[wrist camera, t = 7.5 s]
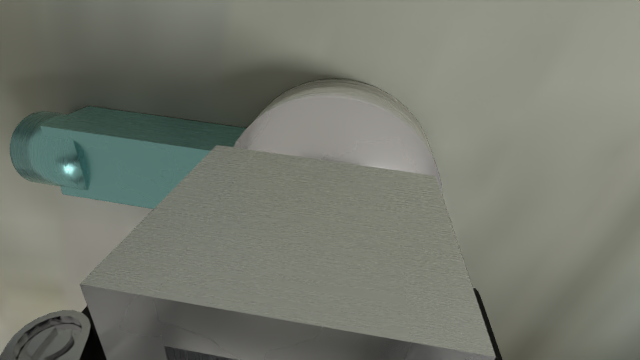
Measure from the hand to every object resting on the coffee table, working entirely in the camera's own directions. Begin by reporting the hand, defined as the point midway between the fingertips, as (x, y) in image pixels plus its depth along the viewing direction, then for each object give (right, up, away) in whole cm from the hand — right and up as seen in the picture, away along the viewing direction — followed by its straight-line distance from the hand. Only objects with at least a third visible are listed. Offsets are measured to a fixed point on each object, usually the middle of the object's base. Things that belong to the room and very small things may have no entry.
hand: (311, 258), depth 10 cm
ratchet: (-3, +3, +5) cm, 7 cm away
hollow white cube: (0, 0, 0) cm, 1 cm away
